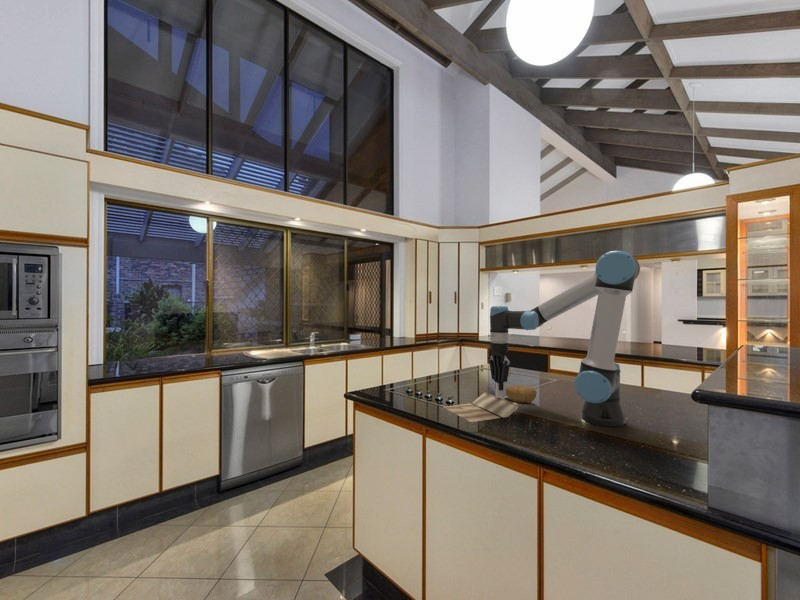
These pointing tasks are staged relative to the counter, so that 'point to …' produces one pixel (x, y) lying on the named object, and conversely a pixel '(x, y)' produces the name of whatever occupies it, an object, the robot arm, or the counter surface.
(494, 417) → the laid boards
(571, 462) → the counter surface
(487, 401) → the board
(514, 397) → the potato
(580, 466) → the counter surface
